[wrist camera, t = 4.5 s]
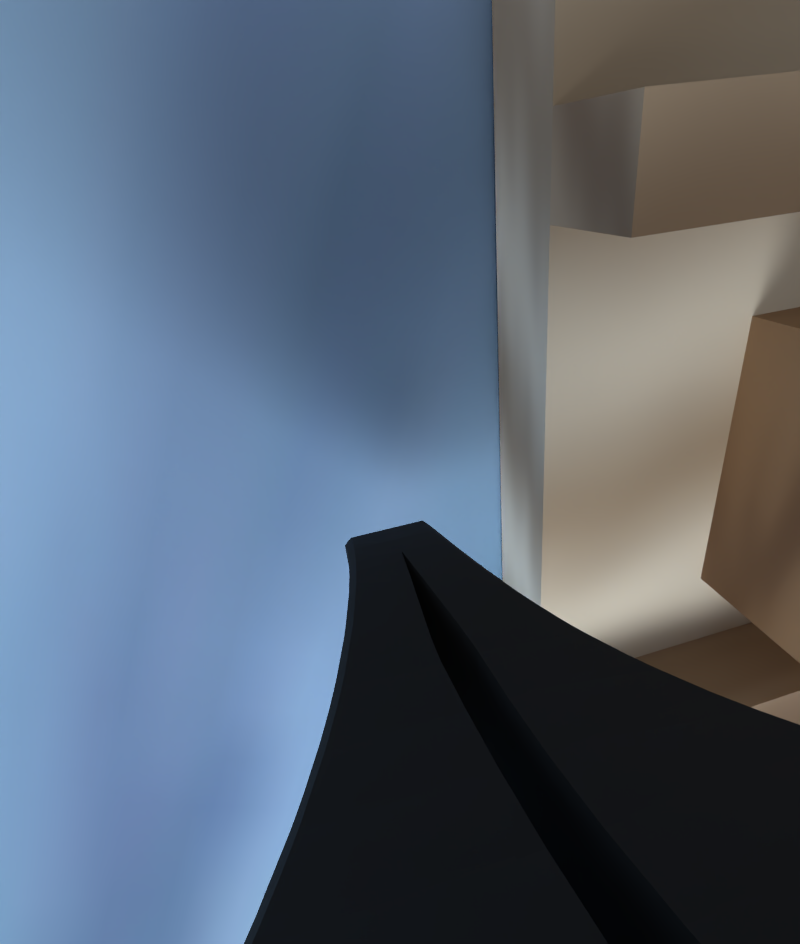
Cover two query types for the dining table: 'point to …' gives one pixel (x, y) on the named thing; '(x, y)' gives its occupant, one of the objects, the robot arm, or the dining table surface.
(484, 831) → the robot arm
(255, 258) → the dining table surface
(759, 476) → the walnut block
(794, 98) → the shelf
